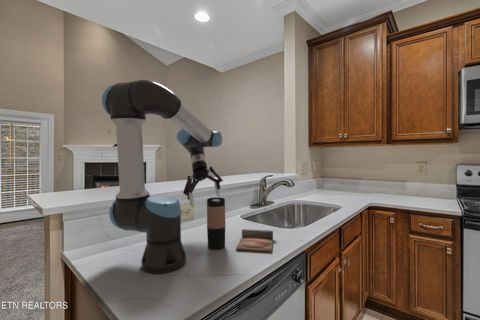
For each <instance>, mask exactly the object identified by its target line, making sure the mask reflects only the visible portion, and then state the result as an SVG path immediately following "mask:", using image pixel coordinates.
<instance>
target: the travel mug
mask: <svg viewBox="0 0 480 320" xmlns="http://www.w3.org/2000/svg"><path fill="white" fill-rule="evenodd" d="M206 231H207V233H206V234H207V236H206V237H207V247H208V249H209V250H213V251H220V250H222V249H225V248H226V247H225V246H226V198H224V197H209V198H207V200H206Z"/></svg>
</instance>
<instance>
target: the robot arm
mask: <svg viewBox="0 0 480 320" xmlns="http://www.w3.org/2000/svg"><path fill="white" fill-rule="evenodd" d="M101 96H102V97H101V103H102V107H103V109H104V110H105V111H106V113H107V114H108V115H109V116H110V121H111V122H112V123H113V124H114V125H115V132H116V133H115V134H116V135H115V136H116V148H117V152H116V153H117V165H118V167H117V168H118V179H119V180H118V183H119V192H118V193H116V194H115V200H114V201H113V202H112V204H111V206H110V207H109V220H110V222H111V224H112V225H113V226H114V227H115V228H118V229H120V230H121V229H122V230H124V231H129V232H130V231H131V232H140V233H145V234H146V235H145V236H146V238H145V239H146V244H145V248H144V250H143V251H144V252H143V255H142V257H141V269H142V271H143V272H146V273H148V274H156V275H157V274H158V275H160V274H166V273H170V272H174V271H177V270H179V269H181V268H183V267H184V266H185V265H186V263H187V253H186V251H185V248H184V245H183V242H182V225H181V224H182V222H181V221H182V217H181V216H182V215H181V214H182V209H181V202H180V201H179V199H177V198H176V197H172V196H168V195H154V196H153V195H152V196H150V191H148V190H147V189H146V184H145V183H146V182H145V166H144V165H145V162H144V143H143V128H142V127H143V125H144V124H145V123H146V121H147V119H146V118H147V117H146V115H156V116H159V117H161V118H163V119H164V120H170V121H171V122H172V123H174V124H175V125H177V126H178V127H179V128H181V129H179V131H178V132H177V135H176V139H177V140H178V142H179V144H181V145H182V147H184V148H185V149H186V151H187V152H188V153H189V155H190V162H191V168H192V175H187V179H186V183H185V186H184V189H183V191H182V194H183V195H185V196H186V197H187V200H188V201H189V205H190V206H191V207H192V208H194V207H195V202H194V194H193V192H194V189H195V188H196V186H197V185H198V184H199V182H202V181H205V180H206V179H208V180H210V181H211V182H213V183H214V184H213V185H214V190H215V193H216V196H217V198H221V193H220V190H221V182H223V181H224V179H222V177H221V176H220V175H219V174H218V172H216V171H215V169H214V168H213V166H209V168H208V165H207V158H206V154H205V150H204V149H205V148H215V147H216V148H217V147H220V146H221V145H222V143H223V136H222V133H221V132H220V131H217V130H216V131H215V130H211V129H210V128H209V127H208V126H207V125H206V124H205V123H203V122H202V121H201V120H200V119H199V118H198V117H197V116H196V115H194V113H192V111H190V110H189V109H188V108H187V107H186V106H184V104H182V100H181V98H180V97H179V96H178V95H177V94H175V93H174V92H173V91H172V90H170V89H169V88H167V87H166V86H164V85H162V84H160V83H157V82H155V81H153V80H149V79H139V80H134V81H125V82H117V83H115V84H112V85H110V86H108V87H107V88H105V90H104V92H103V93H102V95H101ZM209 173H212V174H213V175H214V176H215V177H216V178H215V177H213V176H211V175H209Z"/></svg>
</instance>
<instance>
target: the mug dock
mask: <svg viewBox="0 0 480 320" xmlns="http://www.w3.org/2000/svg"><path fill="white" fill-rule="evenodd" d="M273 241H274V230H266V229H249V228H248V229H246V228H244V229H243V228H242V229H241V238H240V239H239V242H238V244H237V246H236V248H235V251H237V252H248V253H249V252H250V253H261V254H262V253H263V254H272V250H273V243H274V242H273Z"/></svg>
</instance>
